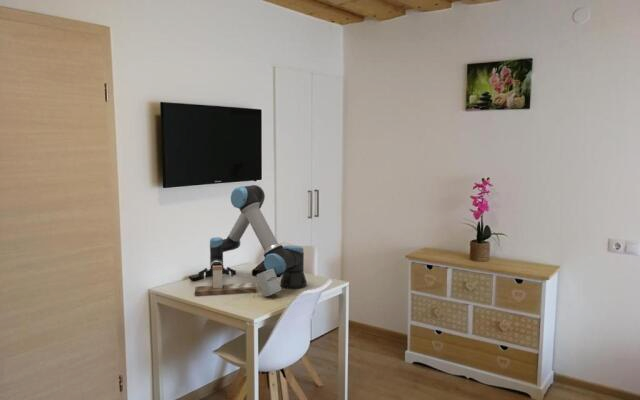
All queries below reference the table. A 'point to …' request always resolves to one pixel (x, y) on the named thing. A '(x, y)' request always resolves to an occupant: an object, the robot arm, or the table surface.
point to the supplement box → (268, 282)
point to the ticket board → (226, 289)
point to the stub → (217, 276)
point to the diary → (261, 270)
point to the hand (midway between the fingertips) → (217, 277)
